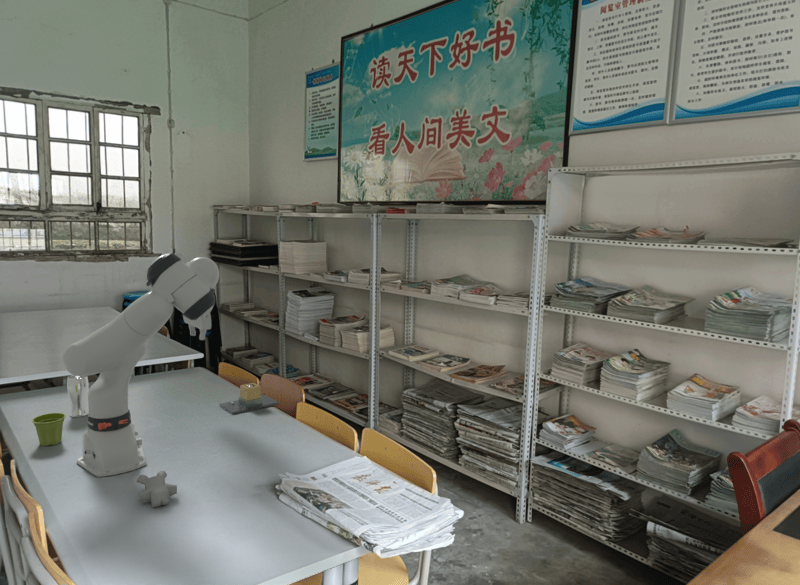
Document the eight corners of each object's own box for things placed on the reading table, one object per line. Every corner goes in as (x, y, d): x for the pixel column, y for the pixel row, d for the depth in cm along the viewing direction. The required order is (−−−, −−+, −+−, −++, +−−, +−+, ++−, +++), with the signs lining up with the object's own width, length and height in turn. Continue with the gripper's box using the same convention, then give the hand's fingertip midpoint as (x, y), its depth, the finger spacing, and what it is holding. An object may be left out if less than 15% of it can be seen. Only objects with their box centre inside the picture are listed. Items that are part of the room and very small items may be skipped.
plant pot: (51, 449, 180) (49, 423, 179) (26, 446, 182) (24, 421, 180) (73, 438, 189) (72, 414, 188) (49, 436, 191) (48, 411, 190)
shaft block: (278, 404, 229) (278, 384, 228) (232, 414, 216) (231, 393, 215) (265, 397, 238) (264, 377, 237) (219, 406, 225) (219, 385, 224)
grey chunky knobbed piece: (141, 499, 142) (132, 470, 154) (142, 517, 143) (133, 486, 155) (180, 490, 147) (168, 462, 159) (180, 507, 149) (168, 478, 161)
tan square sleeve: (260, 398, 225) (260, 386, 225) (246, 401, 221) (246, 388, 221) (254, 394, 230) (253, 382, 229) (240, 397, 226) (240, 385, 225)
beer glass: (83, 417, 208) (81, 379, 206) (64, 417, 208) (62, 378, 206) (93, 411, 215) (91, 374, 213) (75, 411, 215) (73, 373, 213)
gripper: (215, 305, 209) (216, 341, 211) (195, 298, 225) (196, 332, 226) (198, 306, 205) (199, 343, 207) (179, 299, 220) (180, 334, 222)
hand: (197, 337), depth 217 cm, fingers open, 8 cm apart
